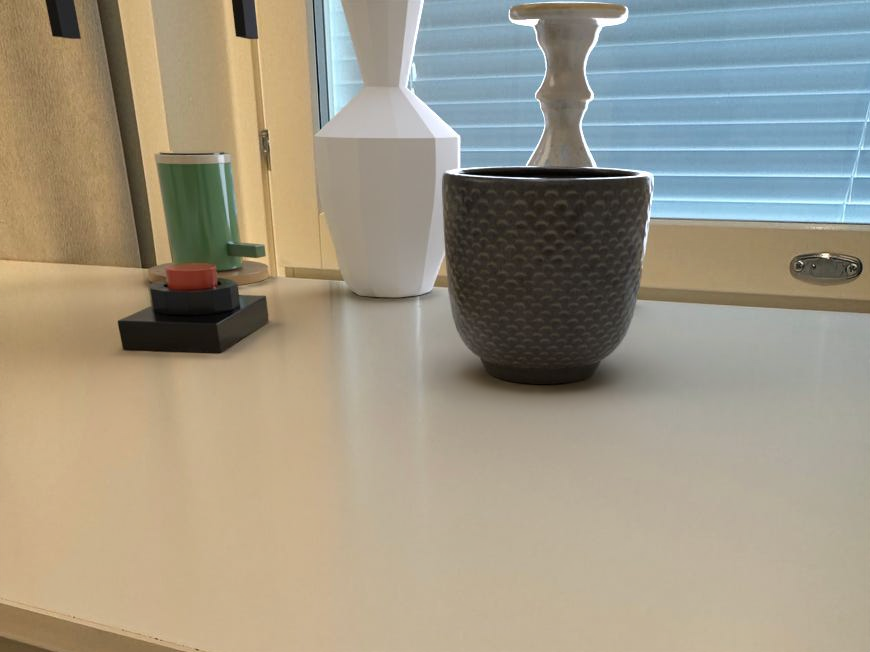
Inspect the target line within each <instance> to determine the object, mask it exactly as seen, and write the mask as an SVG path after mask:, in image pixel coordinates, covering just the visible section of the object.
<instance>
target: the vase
mask: <svg viewBox="0 0 870 652" xmlns="http://www.w3.org/2000/svg"><path fill="white" fill-rule="evenodd" d="M340 2H341V6H342V10H343V14H344V17H345V20H346V24H347V28H348V32H349V35H350V38H351V43H352V46H353V49H354V52H355V56H356V60H357V62H358V67H359V72H360V73H361V78H362V82H363V85H364V87H363V88H362V89H361V90H360V91H359V92H358V93H356V95H354V96H353V98H352V99H350V100H349V101H348V102H347V103H346V104H345V105H344V106H343V107H342V108H341V109H340V110H339V111H338V112H337V113H336V114H335V115H334V116H333V117H332V118H331V119H329V121H327V122H326V123H325V125H323V126H322V128H320V129H319V130H318V131H317V133H315V134H314V135H313V144H314V145H313V146H314V158H315V170H316V171H315V173H316V179H317V188H318V189H317V190H318V196H319V201H320V205H321V208H322V211H323V215H324V217H325V221H326V224H327V228H328V231H329V234H330V237H331V241H332V244H333V247H334V251H335V256H336V262H337V266H338V269H339V272H340V274H341V278H342V280H343V281H344V283H345V284H346V285H347V287H348V288H349V289H350V291H351V292H353V293H354V294H357V295H358V296H359V297H371V298H404V297H405V298H407V297H413V296H421V295H424V294H427V293H430V292H431V291H432V290H433V288H434V286H435V283H436V280H437V277H438V275H439V272H440V269H441V266H442V264H443V260H444V258H445V242H444V226H443V203H442V177H443V174H444V172H445V171H448V170H453V169H461V135H460V134H459V133H457V132H456V131H455V130H454V129H453V128H452V127H451V126H450V125H449V124H448V123H446V122H445V121H444V120H443V119H442V118H441V117H440V116H439V115H438V114H437V113H436V112H435V111H434V110H432V109H431V108H430V107H429V106H428V105H427V104H426V103H425V102H424V101H422V99H420V98H419V97H418V96H417V95H416V94H415V93H414V92H412V91H411V90H410V89H409V87H408V85H409V79H410V75H411V74H410V73H411V70H412V63H413V59H414V53H415V50H416V49H415V48H416V44H417V38H418V33H419V27H420V23H421V17H422V12H423V7H424V2H425V0H340Z"/></svg>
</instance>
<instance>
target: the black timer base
mask: <svg viewBox="0 0 870 652" xmlns="http://www.w3.org/2000/svg"><path fill="white" fill-rule="evenodd" d="M217 279H218V286H216V287H210V288H202V289H172V288H168V286H167V280H163V281H157V282H155V283H152V282H151V283H150V284H148V285H147V288H148V294H149V295H148V296H149V301H150V305H149V306H148V307H145V308H143V309H141V310H139V311H137V312H134V313H132V314H130V315H127V316H125V317H123V318H121V319H119V320H117V326H118V331H119V336H120V337H119V338H120V341H121V346H122V349H123V350H124V351H125V350H126V351H128V350H129V351H153V352H154V351H156V352H181V353H182V352H185V353H210V354H211V353H212V354H220V353H222V352H224V351H226V350H227V349H228V348H230V347H232V346H233V345H235V344H237V343H238V342H239V341H241V340H243V339H244V338H246V337H247V336H248V335H250V334H252V333H253V332H255V331H256V330H258V329H259V328H261V327H263V326H264V325H266V324H267V323H269V322H270V318H269V310H268V309H269V308H268V301H267V296H266V295H253V294H251V295H250V294H240V292H239V285H238V284H237V283H236V282H235V281H234V280H230V279H224V278H217Z"/></svg>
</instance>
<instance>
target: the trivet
mask: <svg viewBox="0 0 870 652" xmlns="http://www.w3.org/2000/svg"><path fill="white" fill-rule="evenodd" d="M169 265H172V262H168V263H162V264H158V265H154V266H152V267H149V268H148V269H147V275H148V280H149V282H150V283H151V284H152V283H155V282H157V281H163V280H166V274H165V267H166V266H169ZM269 277H270V271H269V265H268V264H267V263H263V262H259V261H255V260H245V259H243V266H242V267H239V268H235V269H230V270H221V271H217V278H224V279H230V280H234V281H235V282H236V283H237V284H238V286H244V285H249V284H254V283H258V282H262V281H265V280H268V278H269Z"/></svg>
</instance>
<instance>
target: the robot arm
mask: <svg viewBox="0 0 870 652" xmlns="http://www.w3.org/2000/svg"><path fill="white" fill-rule="evenodd" d="M44 1H45V7H46V11H47V16H48V21H49V26H50V31H51V35H52V37H55V38H62V39H71V40H81V39H82V37H81V31H80V26H79V21H78V15H77V9H76V4H75V0H44ZM231 6H232V14H233V23H234V24H233V25H234V33H235V37H236V38H242V39H245V40H259V29H258V21H257V11H256V0H231Z"/></svg>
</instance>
